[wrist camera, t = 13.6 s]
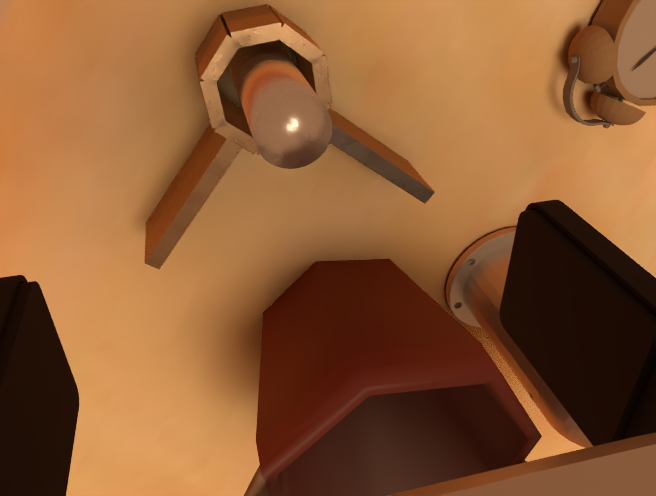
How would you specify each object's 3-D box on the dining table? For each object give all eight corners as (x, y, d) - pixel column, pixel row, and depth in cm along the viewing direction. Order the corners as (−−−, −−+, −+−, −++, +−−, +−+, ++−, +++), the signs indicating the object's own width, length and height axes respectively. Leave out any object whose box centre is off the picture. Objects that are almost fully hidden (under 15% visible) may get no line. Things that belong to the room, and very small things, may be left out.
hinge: (434, 128, 49) (464, 156, 44) (301, 293, 55) (315, 334, 50) (238, -18, 39) (250, -3, 34) (104, 204, 45) (97, 243, 41)
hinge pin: (298, 55, 43) (347, 120, 31) (264, 102, 44) (301, 181, 33) (249, 19, 41) (284, 75, 29) (216, 70, 42) (237, 143, 31)
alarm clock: (744, 37, 48) (619, 165, 49) (692, 32, 53) (577, 150, 53) (712, -77, 42) (569, 71, 43) (655, -73, 46) (527, 62, 47)
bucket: (186, 363, 57) (201, 635, 36) (298, 184, 49) (396, 404, 29) (375, 412, 68) (467, 640, 48) (490, 274, 60) (658, 476, 40)
